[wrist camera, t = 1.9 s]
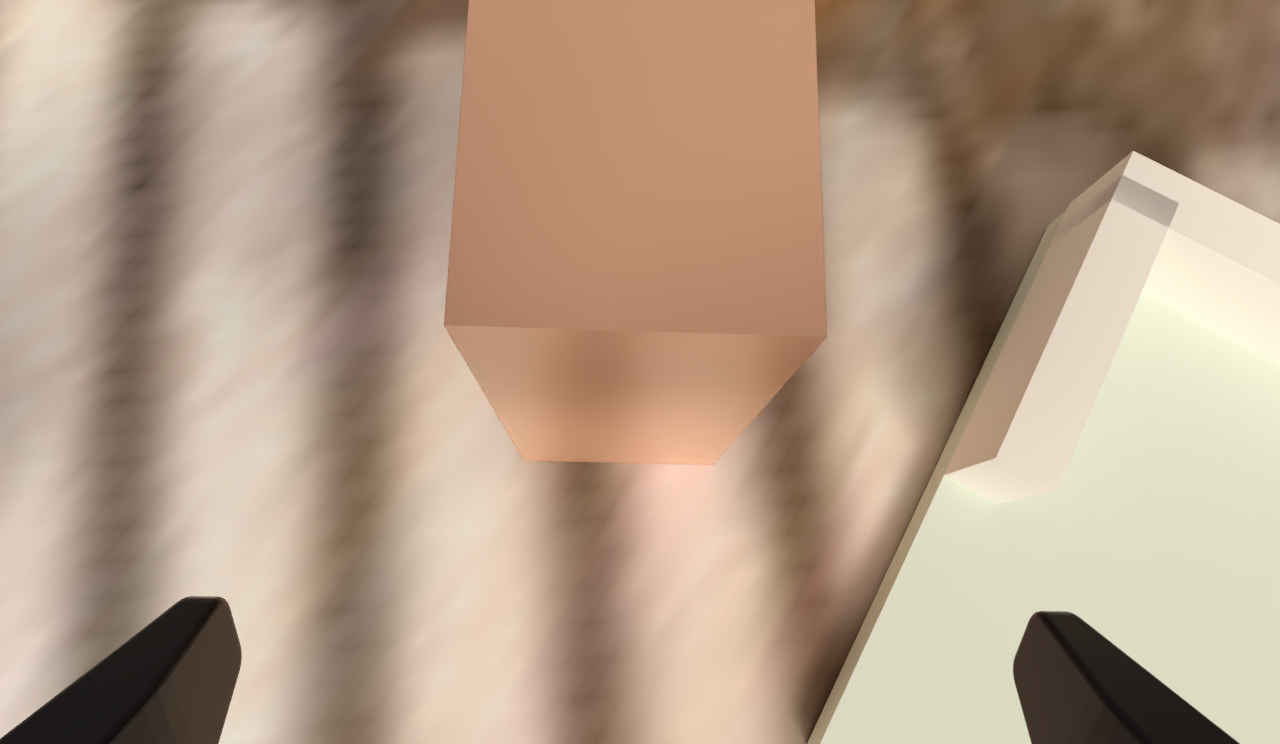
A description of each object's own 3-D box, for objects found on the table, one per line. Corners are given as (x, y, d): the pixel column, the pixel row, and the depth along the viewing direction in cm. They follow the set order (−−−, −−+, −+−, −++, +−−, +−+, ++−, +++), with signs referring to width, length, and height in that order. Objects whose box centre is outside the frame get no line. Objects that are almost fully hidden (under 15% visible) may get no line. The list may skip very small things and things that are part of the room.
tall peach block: (712, 464, 23) (826, 336, 11) (523, 460, 23) (444, 324, 11) (711, 254, 24) (812, -51, 13) (534, 248, 24) (473, -67, 13)
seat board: (1338, 1052, 20) (1513, 1162, 16) (806, 744, 21) (852, 778, 17) (1509, 452, 24) (1684, 425, 20) (1051, 218, 25) (1133, 150, 21)
